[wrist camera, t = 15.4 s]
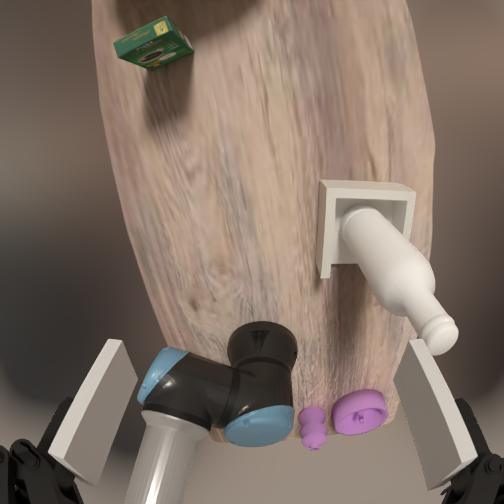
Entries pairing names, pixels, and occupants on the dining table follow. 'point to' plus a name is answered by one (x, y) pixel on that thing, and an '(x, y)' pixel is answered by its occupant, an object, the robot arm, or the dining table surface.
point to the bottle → (397, 275)
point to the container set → (344, 417)
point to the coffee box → (154, 44)
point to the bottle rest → (346, 196)
